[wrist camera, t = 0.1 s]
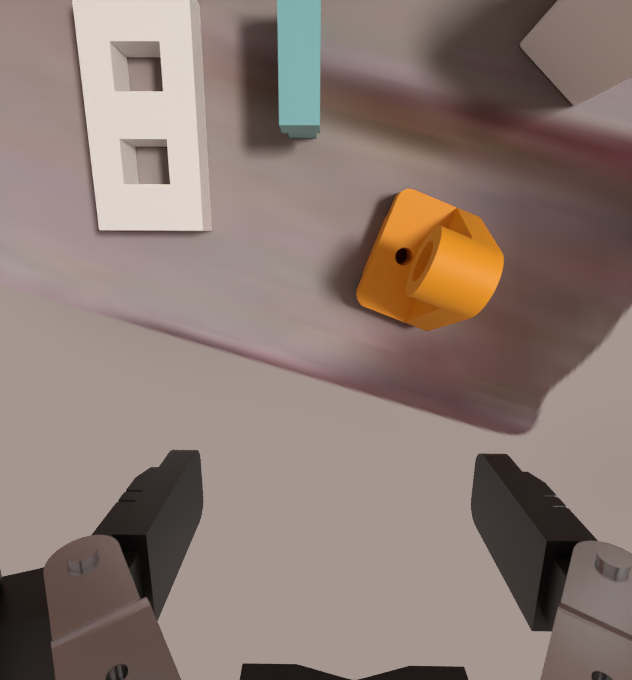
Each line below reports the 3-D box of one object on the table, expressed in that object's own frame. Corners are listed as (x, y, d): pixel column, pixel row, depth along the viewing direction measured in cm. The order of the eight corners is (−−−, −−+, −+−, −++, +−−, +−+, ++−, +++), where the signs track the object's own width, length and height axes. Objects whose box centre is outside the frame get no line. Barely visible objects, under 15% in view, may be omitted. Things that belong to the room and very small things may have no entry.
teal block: (284, 13, 34) (276, -37, 28) (320, 13, 34) (320, -37, 28) (286, 144, 37) (279, 125, 30) (319, 144, 37) (319, 125, 30)
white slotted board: (91, 5, 34) (70, -16, 31) (199, 6, 34) (188, -16, 31) (115, 230, 39) (99, 230, 36) (211, 231, 39) (203, 230, 36)
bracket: (397, 188, 38) (431, 166, 26) (469, 218, 38) (534, 210, 27) (351, 298, 40) (364, 323, 28) (420, 325, 41) (460, 360, 29)
